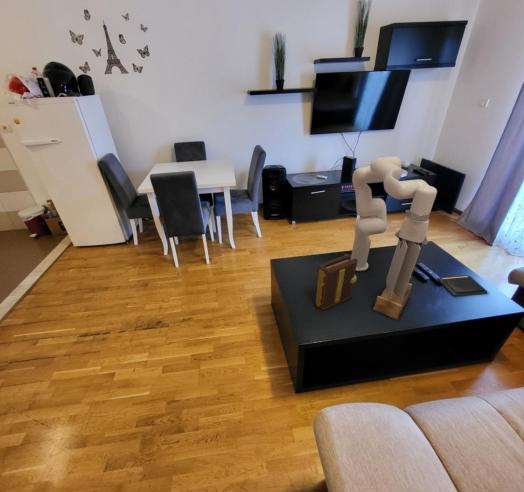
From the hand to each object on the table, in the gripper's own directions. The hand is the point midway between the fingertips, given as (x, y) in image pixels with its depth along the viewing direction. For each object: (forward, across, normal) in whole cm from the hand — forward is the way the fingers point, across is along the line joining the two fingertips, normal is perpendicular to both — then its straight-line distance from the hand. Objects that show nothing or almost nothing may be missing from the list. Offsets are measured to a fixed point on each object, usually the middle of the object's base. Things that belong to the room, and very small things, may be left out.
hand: (406, 251), depth 127 cm
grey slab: (+24, 0, 0) cm, 24 cm away
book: (+33, -24, -15) cm, 44 cm away
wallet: (+33, +28, +37) cm, 57 cm away
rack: (+33, 0, 0) cm, 33 cm away
